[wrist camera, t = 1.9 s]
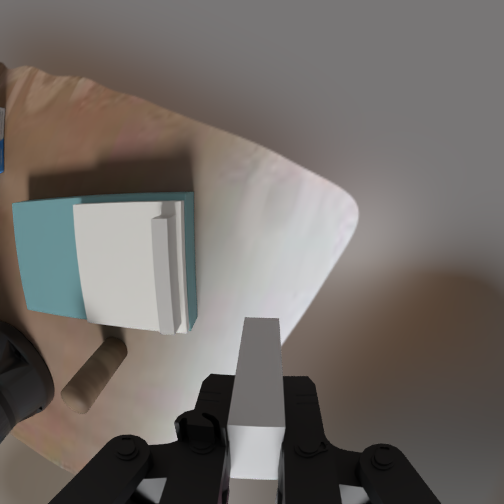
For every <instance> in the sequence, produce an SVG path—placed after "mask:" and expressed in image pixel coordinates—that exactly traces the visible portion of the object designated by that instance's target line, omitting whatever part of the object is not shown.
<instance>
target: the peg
mask: <svg viewBox="0 0 504 504" xmlns="http://www.w3.org/2000/svg"><path fill="white" fill-rule="evenodd" d="M126 356H127V348H126V346H125V344H124V343H123V342H122V341H121V340H119V339H118V338H115V337H109V338H107V339H106V340H105V341H104V342H103V343H102V345H101V346H100V347H99V348H98V349H97V350H96V351H95V352H94V354H93V355H92V356H91V357H90V358H89V359H88V360H87V362H86V363H85V364H84V365H83V366H82V367H81V368H80V370H79V371H78V372H77V373H76V374H75V375H74V377H73V378H72V379H71V380H70V381H69V382H68V384H67V385H66V386H65V387H64V388H63V390H62V391H61V397H62V399H63V401H64V402H65V404H66V405H67V406H68V407H69V408H70V409H72V410H73V411H75V412H77V413H80V414H85V413H87V412H88V410H89V409H90V408H91V406H92V405H93V403H94V402H95V400H96V399H97V397H98V396H99V394H100V393H101V391H102V390H103V389H104V387H105V386H106V384H107V383H108V381H109V380H110V379H111V377H112V376H113V374H114V373H115V371H116V370H117V369H118V367H119V366H120V364H121V363H122V362H123V360H124V359H125V357H126Z"/></svg>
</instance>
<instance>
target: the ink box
mask: <svg viewBox="0 0 504 504" xmlns="http://www.w3.org/2000/svg"><path fill="white" fill-rule="evenodd" d="M4 117H5V108H0V173H2V172H3V171H4V152H3V149H4Z"/></svg>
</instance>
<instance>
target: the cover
mask: <svg viewBox="0 0 504 504" xmlns="http://www.w3.org/2000/svg"><path fill="white" fill-rule="evenodd" d="M73 215H74V229H75V240H76V250H77V259H78V267H79V274H80V281H81V288H82V294H83V300H84V305H85V311H86V316H87V321H88V322H89V323H96V324H103V325H111V326H118V327H126V328H135V329H144V330H153V331H160V334H165V335H175V334H176V333H187V332H188V330H189V315H188V299H187V281H186V259H185V228H184V200H173V201H127V202H101V203H80V204H74V205H73Z"/></svg>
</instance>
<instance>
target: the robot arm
mask: <svg viewBox="0 0 504 504" xmlns="http://www.w3.org/2000/svg"><path fill="white" fill-rule="evenodd" d="M53 397H54V386H53V382H52V378H51V376H50V373H49V371H48V369H47V367H46V365H45V363H44V361H43V360H42V358H41V356H40V355H39V353H38V352H37V351H36V349H35V348H34V347H33V345H32V344H31V343H30V342H29V341H28V340H27V339H26V338H25V337H24V336H23V335H22V334H21V333H20V332H19V331H18V330H17V329H15V328H14V327H13V326H11V325H9V324H7V323H5V322H2V321H0V444H1V442H2V441H3V440H4V438H5V437H6V436H7V435H8V434H9V432H10V431H11V430H12V429H13V427H14V426H15V425H16V424H17V423H19V422H21V421H23V420H25V419H27V418H29V417H31V416H33V415H35V414H36V413H39V412H41V411H43V410H44V409H45V408H46V407H47V406H48V405H49V404H50V402H51V401H52V400H53ZM174 424H175V429H176V433H177V438H178V440H177V441H175V442H172V443H168V444H159V445H148V444H147V442H146V441H145V440H143V439H142V438H140V437H138V436H134V435H120V436H117V437H114V438H113V439H111V440H110V441H109V442H108V443H107V444H106V445H105V446H104V447H103V448H102V449H101V450H100V451H99V452H98V453H97V454H96V455H95V456H94V457H93V458H92V459H91V460H90V461H89V462H88V463H87V464H86V466H85V467H84V468H83V469H82V470H81V471H80V472H79V473H78V474H77V475H76V476H75V477H74V478H73V479H72V480H71V481H70V482H69V483H68V484H67V485H66V486H65V487H64V488H63V489H62V490H61V491H60V492H59V493H58V494H57V495H56V496H55V497H54V498H53V499H52V500H51V501H50V502H49V503H48V504H228V498H229V478H243V479H270V480H278V490H277V495H276V501H275V504H441V503H440V502H439V500H438V499H437V498H436V496H435V495H434V494H433V492H432V491H431V490H430V488H429V487H428V486H427V484H426V483H425V482H424V481H423V479H422V478H421V476H420V475H419V474H418V473H417V471H416V470H415V469H414V467H413V466H412V465H411V463H410V462H409V461H408V459H407V458H406V457H405V455H404V454H403V453H402V452H401V451H400V450H399V449H398V448H396V447H394V446H392V445H389V444H375V445H371V446H370V447H368V448H366V449H365V450H364V451H363V452H362V453H359V452H353V451H347V450H343V449H339V448H337V447H335V446H333V445H332V444H331V443H330V442H329V441H328V440H327V438H326V436H325V434H324V429H323V423H322V419H321V413H320V408H319V404H318V397H317V392H316V387H315V384H314V383H313V382H312V381H311V379H310V378H309V377H308V376H283V374H282V357H281V342H280V326H279V318H249V317H245V320H244V326H243V332H242V338H241V344H240V350H239V356H238V363H237V369H236V375H221V374H210V375H209V376H208V377H207V378H206V379H205V380H204V381H203V383H202V386H201V389H200V393H199V396H198V399H197V402H196V405H195V409H194V410H190V411H187V412H184V413H183V414H181V415H180V416H178V417H177V419H176V420H175V422H174Z"/></svg>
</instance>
